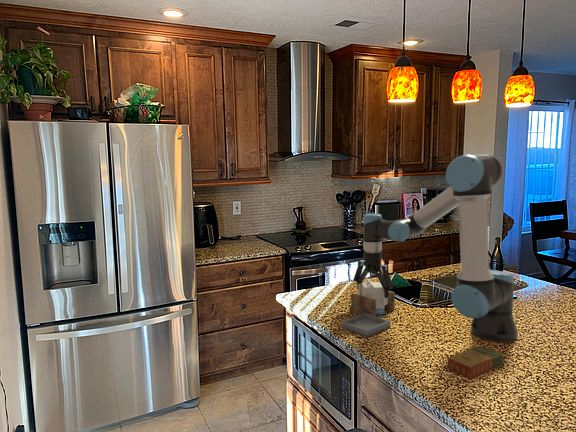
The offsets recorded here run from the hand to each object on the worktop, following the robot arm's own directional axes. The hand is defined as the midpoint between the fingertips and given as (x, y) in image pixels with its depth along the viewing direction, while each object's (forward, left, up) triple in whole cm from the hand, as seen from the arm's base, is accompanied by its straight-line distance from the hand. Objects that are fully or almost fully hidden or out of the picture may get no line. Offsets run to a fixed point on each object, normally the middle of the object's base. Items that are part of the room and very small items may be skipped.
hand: (372, 301), depth 181 cm
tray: (-9, +16, -4) cm, 19 cm away
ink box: (0, 0, -4) cm, 4 cm away
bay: (0, 0, -4) cm, 4 cm away
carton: (-52, +17, -5) cm, 55 cm away
